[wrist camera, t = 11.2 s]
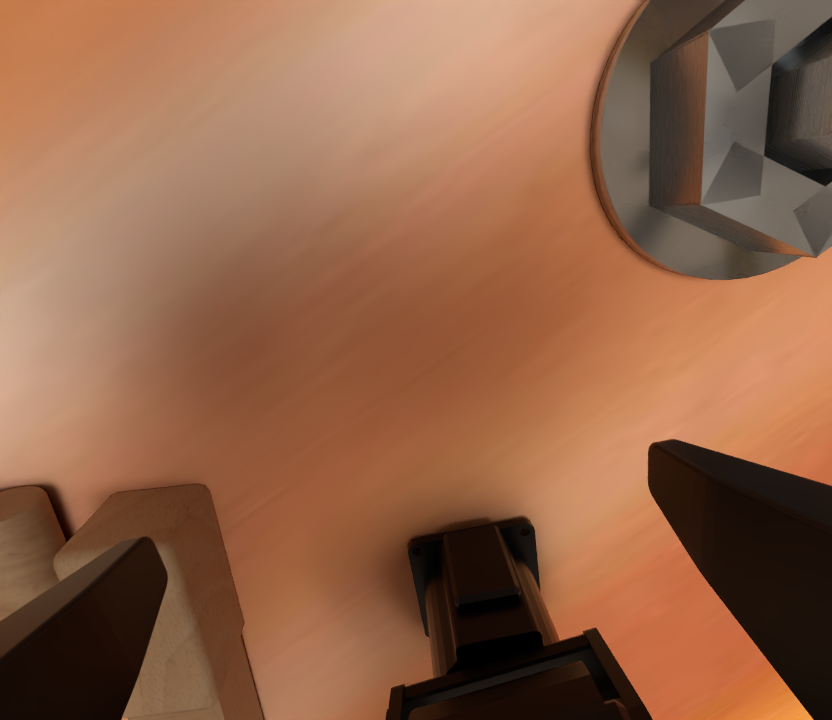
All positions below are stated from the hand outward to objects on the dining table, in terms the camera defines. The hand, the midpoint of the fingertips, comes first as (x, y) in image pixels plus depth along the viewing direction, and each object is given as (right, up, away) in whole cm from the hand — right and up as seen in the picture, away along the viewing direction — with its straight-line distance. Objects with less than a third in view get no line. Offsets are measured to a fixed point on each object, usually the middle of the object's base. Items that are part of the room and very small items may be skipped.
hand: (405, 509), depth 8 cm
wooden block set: (-18, -11, +16) cm, 26 cm away
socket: (+13, +12, +10) cm, 20 cm away
